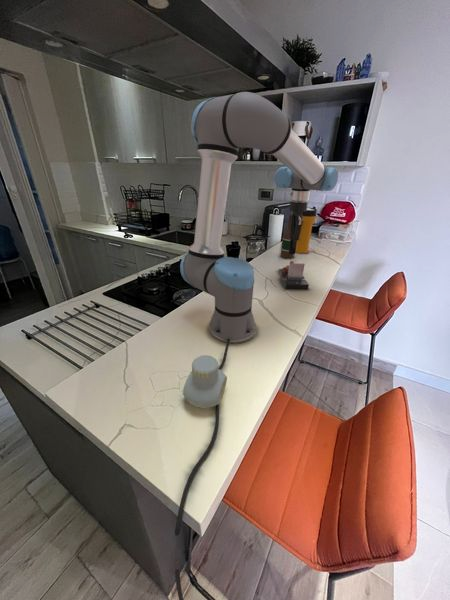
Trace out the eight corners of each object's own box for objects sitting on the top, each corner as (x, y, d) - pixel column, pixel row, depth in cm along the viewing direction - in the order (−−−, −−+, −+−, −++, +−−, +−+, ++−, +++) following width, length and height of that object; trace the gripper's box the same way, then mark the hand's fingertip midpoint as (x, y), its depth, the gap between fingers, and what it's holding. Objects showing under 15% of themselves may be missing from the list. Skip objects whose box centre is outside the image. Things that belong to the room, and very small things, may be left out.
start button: (293, 271, 124) (294, 268, 123) (286, 271, 124) (286, 267, 123) (292, 268, 127) (292, 265, 127) (284, 268, 127) (285, 265, 126)
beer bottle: (277, 255, 153) (282, 213, 141) (288, 253, 156) (293, 212, 144) (285, 259, 147) (291, 216, 135) (296, 257, 150) (302, 215, 138)
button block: (299, 279, 123) (300, 273, 121) (282, 278, 123) (283, 273, 121) (294, 271, 131) (295, 265, 130) (278, 270, 131) (279, 265, 130)
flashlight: (300, 209, 144) (298, 206, 152) (294, 253, 156) (291, 248, 165) (318, 209, 143) (315, 207, 152) (310, 254, 155) (307, 249, 164)
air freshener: (215, 418, 56) (215, 385, 51) (180, 409, 58) (177, 376, 53) (228, 381, 65) (229, 351, 60) (198, 375, 67) (196, 344, 62)
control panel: (308, 289, 113) (309, 284, 111) (285, 289, 112) (285, 283, 111) (301, 279, 122) (302, 274, 121) (280, 279, 122) (281, 274, 121)
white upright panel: (300, 278, 117) (303, 261, 113) (301, 280, 115) (304, 263, 111) (287, 278, 117) (289, 260, 113) (288, 280, 115) (291, 262, 111)
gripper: (287, 198, 116) (281, 249, 128) (293, 203, 105) (286, 258, 116) (303, 199, 116) (296, 249, 128) (312, 203, 105) (303, 258, 116)
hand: (291, 253), depth 122 cm, fingers closed
